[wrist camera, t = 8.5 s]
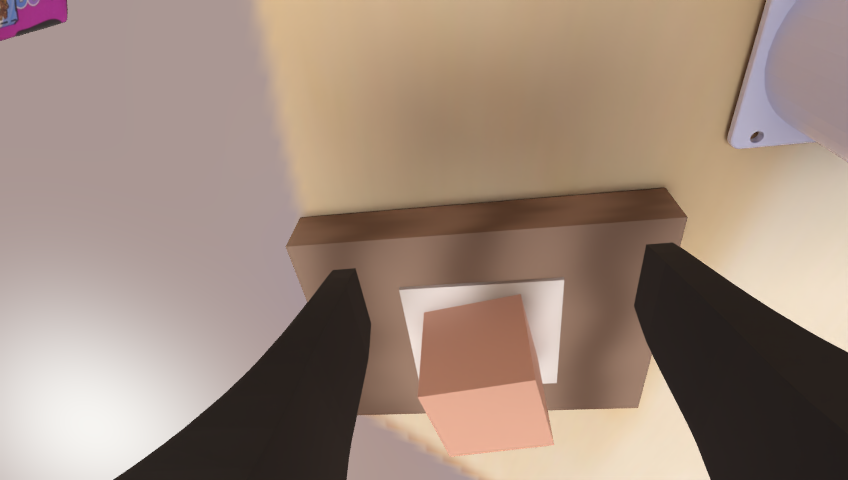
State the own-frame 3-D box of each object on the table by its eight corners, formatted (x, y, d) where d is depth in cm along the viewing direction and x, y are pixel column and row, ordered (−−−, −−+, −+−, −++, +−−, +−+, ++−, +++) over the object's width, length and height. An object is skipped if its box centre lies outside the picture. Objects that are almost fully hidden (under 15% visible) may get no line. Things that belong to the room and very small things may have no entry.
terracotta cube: (520, 293, 22) (535, 380, 18) (537, 357, 25) (554, 445, 21) (424, 312, 23) (417, 397, 19) (450, 371, 26) (450, 456, 22)
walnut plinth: (665, 187, 21) (689, 219, 19) (625, 373, 29) (639, 410, 27) (300, 217, 23) (284, 249, 21) (358, 382, 31) (351, 418, 29)
